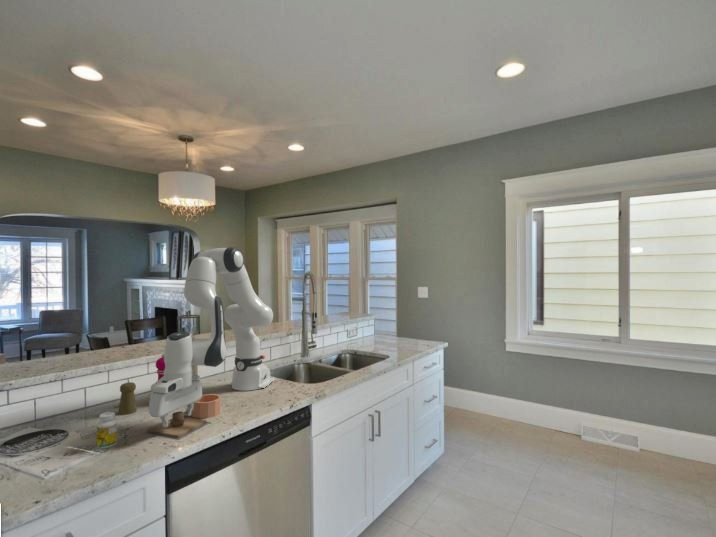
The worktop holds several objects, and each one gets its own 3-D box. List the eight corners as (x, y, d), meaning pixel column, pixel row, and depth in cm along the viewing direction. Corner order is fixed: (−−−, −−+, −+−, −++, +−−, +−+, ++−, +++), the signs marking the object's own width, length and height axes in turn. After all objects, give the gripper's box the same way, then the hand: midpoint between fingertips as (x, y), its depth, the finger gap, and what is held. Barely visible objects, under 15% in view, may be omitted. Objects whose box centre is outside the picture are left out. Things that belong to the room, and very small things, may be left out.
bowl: (204, 408, 147) (205, 392, 147) (226, 411, 144) (226, 395, 144) (185, 417, 137) (186, 401, 138) (208, 420, 134) (208, 404, 134)
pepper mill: (150, 402, 153) (151, 353, 154) (168, 398, 159) (169, 351, 159) (156, 406, 148) (157, 356, 149) (175, 402, 154) (176, 353, 154)
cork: (127, 415, 139) (128, 386, 139) (114, 414, 140) (114, 384, 140) (140, 409, 145) (140, 381, 145) (127, 408, 146) (127, 380, 146)
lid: (177, 418, 136) (177, 405, 136) (206, 422, 131) (206, 409, 132) (147, 432, 123) (147, 417, 123) (178, 438, 119) (178, 423, 119)
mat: (177, 418, 137) (177, 416, 137) (210, 423, 132) (210, 422, 132) (142, 434, 123) (142, 433, 123) (178, 441, 118) (178, 439, 118)
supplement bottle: (121, 443, 116) (121, 412, 116) (104, 450, 111) (104, 418, 111) (109, 440, 118) (109, 410, 118) (92, 447, 113) (92, 415, 113)
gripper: (193, 372, 138) (192, 409, 138) (146, 387, 119) (145, 431, 119) (206, 373, 136) (206, 411, 136) (161, 389, 117) (160, 434, 117)
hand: (177, 421), depth 127 cm, fingers open, 8 cm apart
